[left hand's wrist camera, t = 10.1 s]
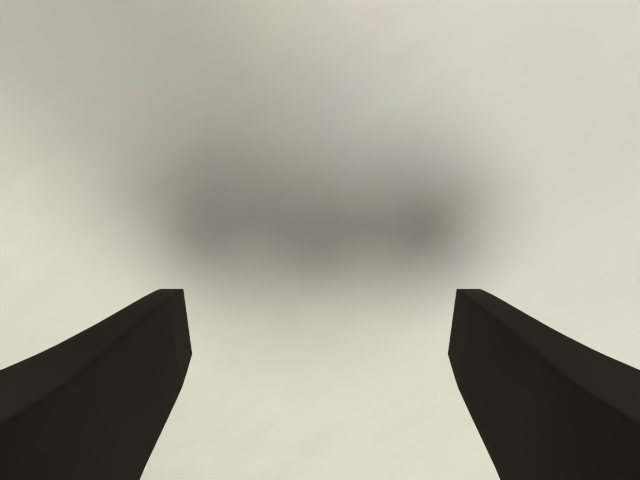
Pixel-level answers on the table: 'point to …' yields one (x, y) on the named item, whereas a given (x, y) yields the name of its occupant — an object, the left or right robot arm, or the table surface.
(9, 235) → the table surface
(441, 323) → the table surface
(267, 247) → the table surface
